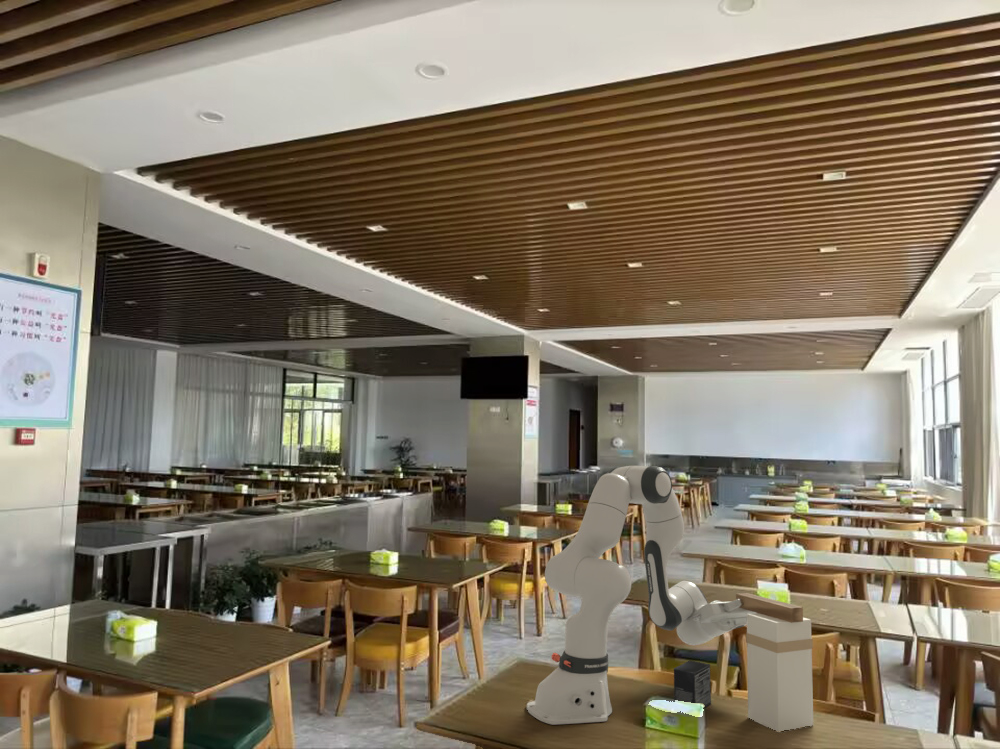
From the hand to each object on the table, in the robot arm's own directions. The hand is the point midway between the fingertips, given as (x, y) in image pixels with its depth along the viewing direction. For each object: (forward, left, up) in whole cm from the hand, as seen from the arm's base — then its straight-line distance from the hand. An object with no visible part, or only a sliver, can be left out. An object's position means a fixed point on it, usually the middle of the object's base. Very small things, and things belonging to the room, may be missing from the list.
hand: (748, 601), depth 188 cm
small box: (-14, +7, -28) cm, 32 cm away
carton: (0, -10, -28) cm, 30 cm away
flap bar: (0, -7, -2) cm, 7 cm away
